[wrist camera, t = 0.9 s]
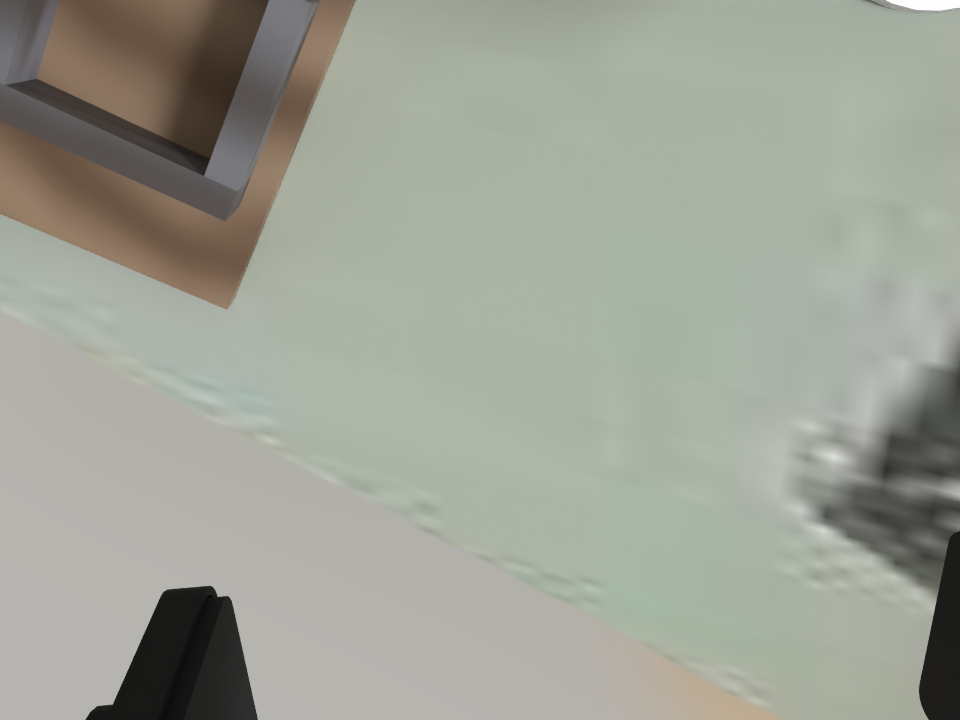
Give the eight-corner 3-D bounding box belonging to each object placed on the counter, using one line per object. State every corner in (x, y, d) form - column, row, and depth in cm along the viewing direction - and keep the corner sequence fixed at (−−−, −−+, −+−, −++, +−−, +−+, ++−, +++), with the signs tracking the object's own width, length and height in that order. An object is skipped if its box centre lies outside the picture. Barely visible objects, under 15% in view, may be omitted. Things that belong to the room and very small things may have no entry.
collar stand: (86, -324, 32) (35, -371, 28) (411, -136, 35) (408, -154, 31) (-45, 181, 40) (-100, 201, 36) (233, 299, 43) (212, 331, 39)
